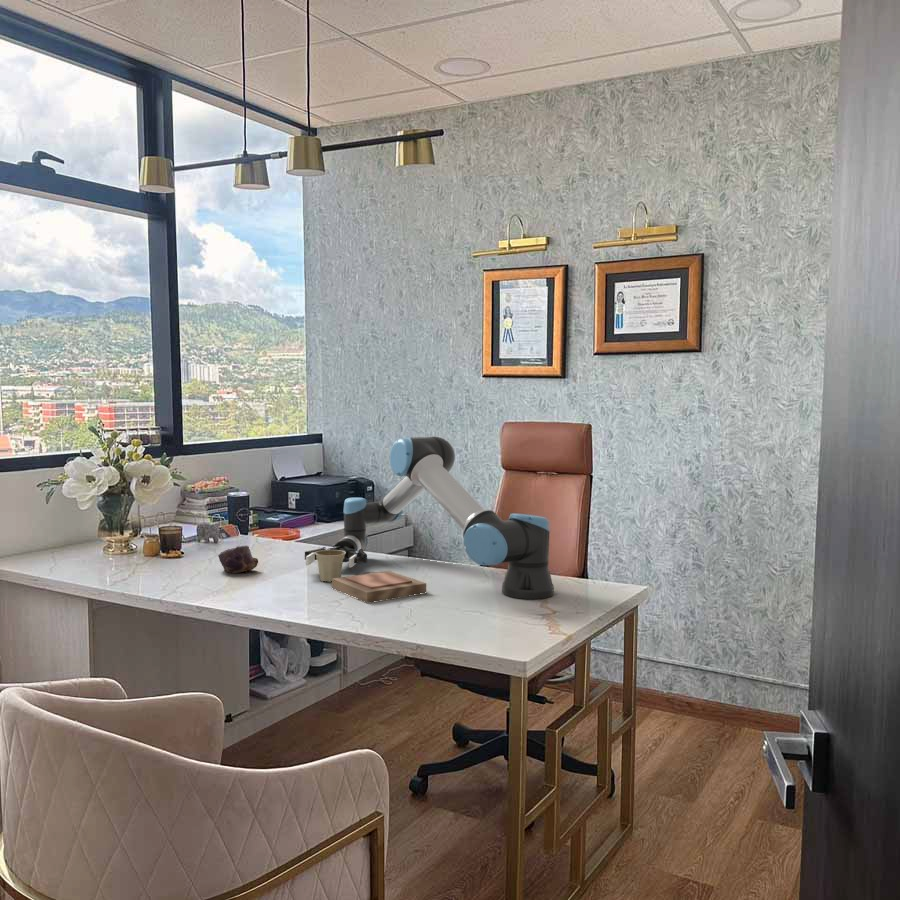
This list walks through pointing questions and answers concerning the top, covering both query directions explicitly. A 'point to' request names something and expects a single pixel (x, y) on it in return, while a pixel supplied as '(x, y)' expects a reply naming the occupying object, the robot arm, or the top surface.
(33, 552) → the top surface
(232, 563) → the rock
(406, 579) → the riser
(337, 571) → the flower pot
